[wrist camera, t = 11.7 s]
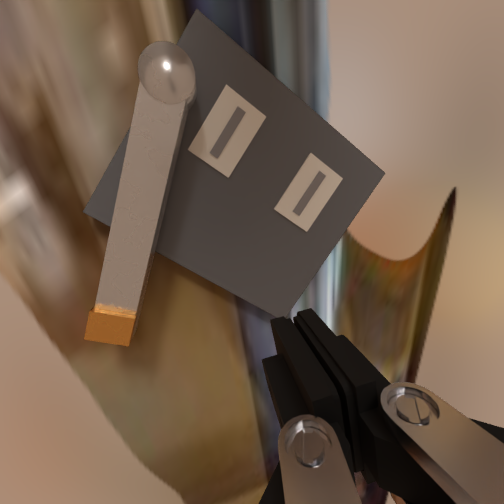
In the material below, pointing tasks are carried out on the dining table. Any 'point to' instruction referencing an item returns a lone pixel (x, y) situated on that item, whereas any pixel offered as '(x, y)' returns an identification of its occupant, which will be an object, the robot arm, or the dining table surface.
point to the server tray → (251, 179)
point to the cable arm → (143, 190)
